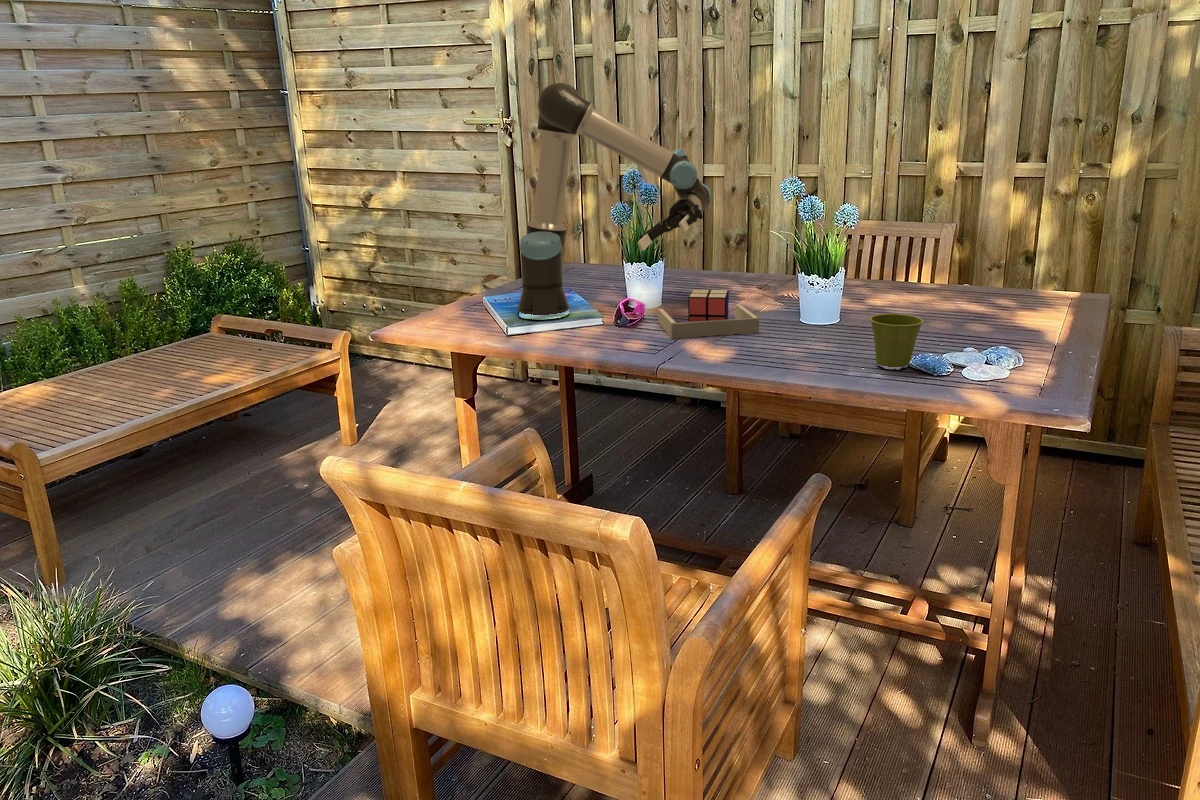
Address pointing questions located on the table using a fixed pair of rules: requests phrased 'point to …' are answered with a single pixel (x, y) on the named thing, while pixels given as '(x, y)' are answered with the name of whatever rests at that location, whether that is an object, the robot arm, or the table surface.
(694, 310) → the puzzle cube
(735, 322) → the wooden frame
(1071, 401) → the table surface
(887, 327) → the plant pot
